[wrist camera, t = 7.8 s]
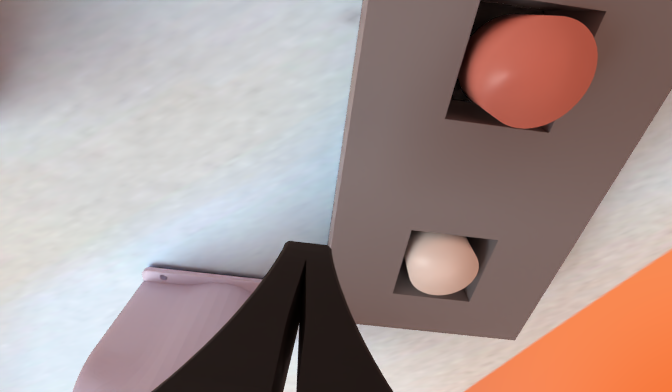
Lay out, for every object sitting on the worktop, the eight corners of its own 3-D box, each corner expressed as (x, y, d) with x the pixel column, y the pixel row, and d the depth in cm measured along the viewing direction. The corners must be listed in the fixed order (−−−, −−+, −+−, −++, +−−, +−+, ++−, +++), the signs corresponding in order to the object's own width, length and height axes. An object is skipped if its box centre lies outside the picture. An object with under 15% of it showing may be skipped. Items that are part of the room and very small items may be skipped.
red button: (447, 101, 14) (469, 121, 12) (474, 7, 13) (508, 7, 10) (525, 111, 15) (565, 134, 12) (564, 20, 13) (620, 24, 10)
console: (323, 272, 23) (320, 320, 20) (377, -100, 13) (389, -140, 10) (489, 291, 23) (514, 340, 20) (663, -54, 14) (773, -75, 10)
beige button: (394, 255, 21) (401, 291, 18) (408, 207, 19) (418, 239, 16) (450, 261, 21) (465, 298, 18) (469, 214, 19) (489, 247, 16)
